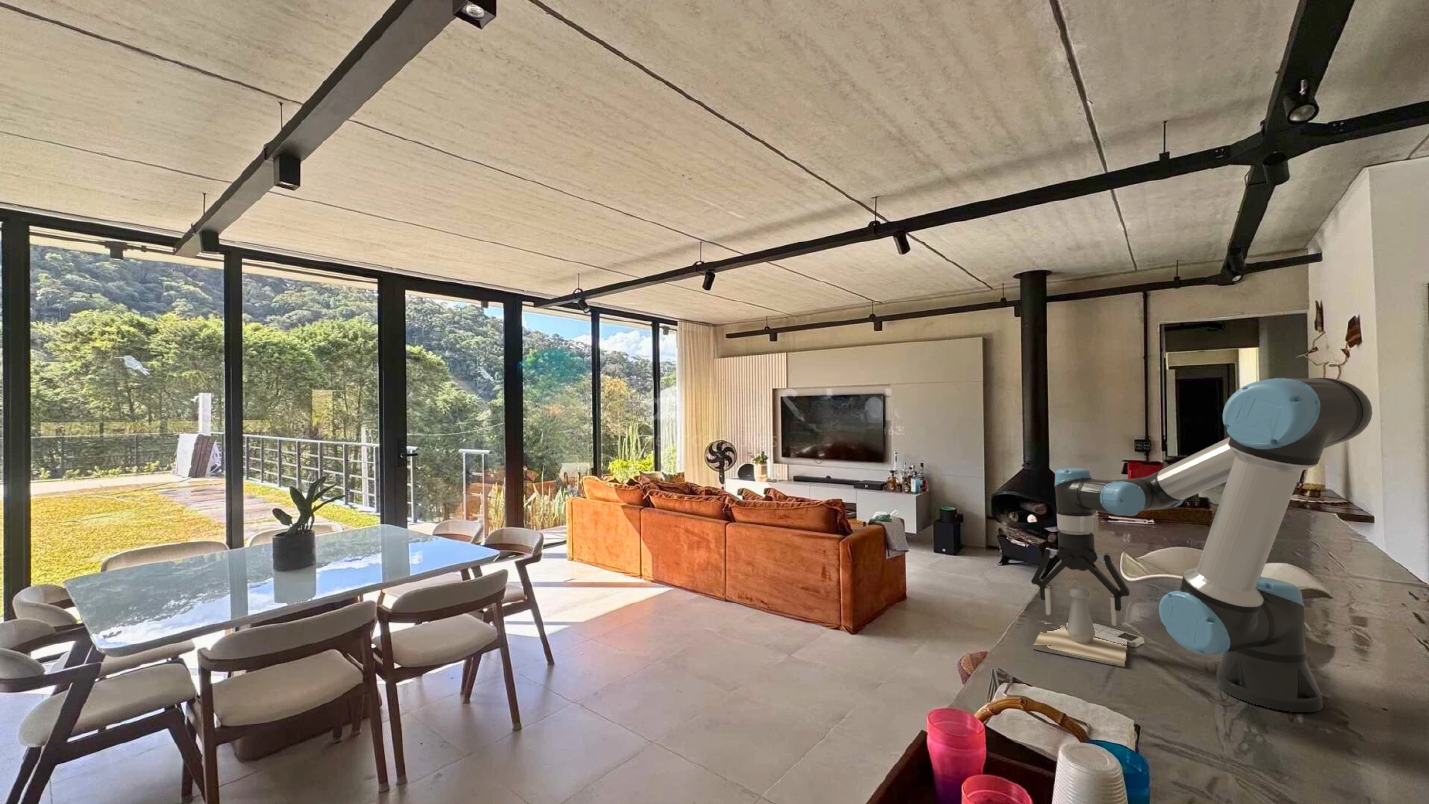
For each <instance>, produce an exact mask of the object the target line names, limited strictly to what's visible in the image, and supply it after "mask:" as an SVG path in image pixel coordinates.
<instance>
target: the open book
mask: <svg viewBox="0 0 1429 804" xmlns="http://www.w3.org/2000/svg"><path fill="white" fill-rule="evenodd" d="M1044 624H1052V623H1050V622H1044V623H1043V625H1044ZM1059 625H1060V627H1061V628H1060V629H1057V630H1054V631H1047V633H1043V632H1039V633H1040V634H1038V635H1037V637H1036V639H1035V642H1034V643H1033V645H1047V647H1048V648H1050V649H1054V650H1058V651H1062V652H1065V653H1068V654H1072V655H1077V656H1082V657H1087V658H1091V659H1096V660H1101V661H1106V662H1110V663H1115V664H1119V665H1125V661H1126V662H1127V656H1126V650H1127V651H1128V648H1127V646H1122V645H1123V644H1122V645H1121V644H1117V643H1113V642H1110V641H1106V640H1102V639H1098V638H1093V640H1092V643H1089V644H1081V643H1076V642H1075V641H1073V640H1071V638H1070V636H1069V634H1068V632H1067V630H1066V628H1065V626H1066V625H1062V624H1059ZM1049 645H1051V646H1049ZM1125 666H1126V665H1125Z"/></svg>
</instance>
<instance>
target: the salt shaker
mask: <svg viewBox="0 0 1429 804" xmlns="http://www.w3.org/2000/svg"><path fill="white" fill-rule="evenodd" d="M1068 596H1069V597H1071V601H1070V607H1069V612H1068V613H1069V614H1068V621H1067V625H1066V626H1067V632H1068V634H1069V636H1070V638H1071V640H1073V641H1075V642H1076V643H1081V644H1089V643H1092V640H1093V638H1094V636H1095V631H1096V630H1095V627H1094V623H1093V619H1092V617H1091V612H1090V609H1089V604H1088V600H1087V599H1089V598H1090V591H1089V589H1087V588H1086V587H1084V586H1081V585H1075V586H1073V585H1071V586H1070V587H1069V588H1068Z"/></svg>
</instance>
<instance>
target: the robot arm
mask: <svg viewBox="0 0 1429 804" xmlns="http://www.w3.org/2000/svg"><path fill="white" fill-rule="evenodd" d="M1222 411H1223V412H1222V422H1223V426H1225V427H1226V432H1227V434H1228V435H1229V436H1228V437H1227V438H1224V439H1223V440H1221V441H1218V442H1217V443H1214V444H1212V445H1211V446H1208V447H1205V448H1204V449H1201V450H1200V451H1197V452H1195V453H1193V454H1191V455H1189V456H1187V457H1185V458H1182V459H1181V460H1179V461H1177V462H1175V463H1172V464H1171V465H1169V466H1167V467H1164V468H1162V469H1161V470H1159V471H1157V472H1156V471H1155V472H1154V473H1152V474H1149V475H1147V476H1144V477H1136V478H1134V477H1133V478H1123V479H1097V478H1096V479H1095V478H1092V476H1091V471H1090V470H1089V469H1086V468H1078V467H1077V468H1076V467H1073V468H1072V467H1070V468H1069V467H1068V468H1067V467H1066V468H1058V469H1057V470H1056V471H1055V474H1054V491H1055V492H1054V493H1055V503H1056V523H1057V529H1058V530H1059V531H1058V532H1057V540H1058V542H1057V543H1058V549H1053V548H1050V547H1049V546H1048V547H1046V548H1045V549H1044V552H1043V558H1042V560H1041V562H1040V564H1039V566H1038V567H1037V569H1036V571H1035V573H1034V575H1033V576H1032V578H1031V584H1032V585H1036V586H1037V587H1039V596H1040V598H1039V599H1040V600H1041V601H1045V602H1044V603H1045V615H1046V616H1050V615H1051V613H1052V607H1051V605H1052V604H1051V603H1052V602H1051V589H1050V588H1051V586H1050V585H1049V583H1050V582H1051V581H1053V579H1054V578H1056V577H1057V575H1059V574H1060V573H1061V571H1063V570H1064V569H1065V568H1067V569H1069V570H1072V571H1076V570H1078V571H1080V572H1081V571H1082V572H1086V571H1089V572H1090V573H1091V574H1092V575H1093V576H1095V578H1096V579H1097V580H1099V582H1100V583H1101V584H1102V585H1103V586H1104V587H1105V588H1106V589H1107V590H1108V591H1109V592H1110V593H1111V594H1110V598H1109V599H1110V612H1111V613H1110V615H1111V626H1115V627H1116V626H1117V611H1118V612H1121V610H1122V597H1129V596H1130V593H1131V592H1130V589H1129V588H1128V586H1127V584H1126V582H1125V581H1124V579H1123V578H1122V576H1121V575H1120V573H1119V571H1118V570H1117V568H1116V567H1115V564H1114V563H1113V560H1112V555H1111V554H1110V553H1109V552H1105V553H1097V552H1096V550H1095V549H1096V548H1095V535H1094V533H1093V531H1094V517H1093V511H1094V512H1095V511H1096V512H1098V513H1099V512H1100V513H1107V514H1110V515H1111V514H1112V515H1114V516H1119V517H1120V516H1126V517H1127V516H1129V517H1133V516H1137V515H1138V513H1140V512H1143V511H1152V510H1169V509H1172V508H1176V507H1179V506H1181V505H1182V504H1183V503H1184V501H1185V500H1186V499H1188V498H1190V497H1192V496H1195V495H1198V494H1201V493H1203V492H1206V491H1207V490H1210V489H1212V488H1215V487H1217V486H1219V485H1222V484H1224V483H1225V486H1224V489H1223V492H1222V494H1221V499H1220V501H1219V504H1218V507H1217V509H1216V512H1215V515H1214V518H1213V521H1212V523H1211V526H1210V529H1209V532H1208V536H1207V539H1206V541H1205V545H1204V547H1203V550H1202V551H1201V552H1202V553H1201V555H1200V559H1199V561H1198V564H1197V566H1196V567H1194V568H1189V569H1187V570H1185V571H1184V573H1183V576H1182V578H1181V581H1180V584H1179V588H1178V590H1174V591H1170V592H1168V593H1167V594H1165V595H1163V596H1162V598H1161V599H1160V602H1159V606H1158V613H1159V618H1160V620H1161V624H1162V625H1164V627H1165V629H1166V631H1167V633H1168V634H1169V635H1170V637H1172V639H1173V640H1174V641H1175V643H1177V644H1179V645H1180V647H1182V648H1185V649H1186V650H1188V651H1190V652H1192V653H1195V654H1198V655H1203V656H1204V655H1206V656H1209V655H1215V656H1217V655H1218V656H1219V655H1222V657H1221V659H1220V662H1219V665H1218V667H1217V668H1216V669H1217V670H1216V685H1217V686H1219V687H1220V688H1221V689H1222V690H1221V689H1220V688H1219V687H1218V688H1219V689H1220V690H1221V691H1223V692H1224V691H1225V692H1224V693H1226V694H1227V693H1228V694H1227V695H1229V696H1231V695H1232V696H1231V697H1233V696H1234V697H1233V698H1235V697H1236V698H1235V699H1237V698H1238V700H1240V699H1241V700H1240V701H1242V700H1244V701H1243V702H1245V701H1247V702H1246V703H1248V702H1249V703H1248V704H1251V703H1252V704H1251V705H1255V704H1256V705H1255V706H1257V705H1262V706H1264V707H1263V708H1265V707H1268V708H1267V709H1269V708H1273V709H1277V710H1276V711H1278V710H1283V711H1282V712H1284V711H1289V712H1288V713H1292V712H1309V713H1308V714H1311V713H1310V712H1313V713H1317V712H1319V711H1321V710H1322V709H1323V708H1324V707H1323V706H1324V704H1323V694H1322V692H1321V690H1320V688H1319V685H1318V684H1317V682H1316V679H1315V677H1314V675H1313V673H1312V670H1311V669H1310V666H1309V664H1308V662H1307V644H1306V642H1307V641H1306V628H1305V627H1306V625H1305V623H1306V622H1305V610H1304V609H1305V603H1304V601H1303V600H1304V599H1303V595H1302V594H1303V593H1302V591H1301V589H1300V588H1299V587H1298V586H1297V585H1295V584H1293V583H1291V582H1287V581H1283V580H1278V579H1275V578H1270V577H1265V576H1262V573H1263V571H1264V568H1265V566H1266V563H1267V560H1268V558H1269V555H1270V552H1271V550H1272V548H1273V545H1274V542H1275V540H1276V538H1277V534H1278V532H1279V530H1280V527H1281V524H1282V522H1283V520H1284V517H1285V514H1286V512H1287V510H1288V508H1289V507H1288V506H1289V503H1290V501H1291V499H1292V495H1293V493H1294V491H1295V488H1296V486H1297V483H1298V481H1299V478H1300V475H1301V473H1302V472H1303V471H1305V470H1308V469H1311V468H1314V467H1317V466H1318V464H1319V462H1320V459H1321V457H1322V454H1323V452H1324V450H1325V449H1327V448H1330V447H1333V446H1334V445H1337V444H1341V443H1344V442H1346V441H1349V440H1351V439H1354V438H1355V437H1357V436H1359V435H1360V434H1361V433H1362V432H1363V431H1364V430H1365V429H1366V428H1367V427H1368V426H1369V424H1370V423H1371V420H1372V416H1373V407H1372V403H1371V401H1370V399H1369V397H1368V396H1367V395H1366V393H1364V391H1363V390H1362V389H1360V388H1359V387H1357V385H1356V386H1355V384H1351V383H1350V382H1348V381H1344V380H1341V379H1338V378H1331V377H1314V378H1313V377H1312V378H1285V377H1275V378H1269V379H1265V380H1264V379H1263V380H1259V381H1258V380H1257V381H1254V382H1251V383H1249V384H1246V385H1244V386H1242V387H1240V388H1239V389H1237V390H1236V391H1234V393H1233V394H1231V396H1230V397H1229V398H1228V399H1227V401H1226V402H1225V404H1224V408H1223V410H1222ZM1055 556H1057V558H1058V559H1059V560H1060V562H1059V564H1058V565H1057V566H1056V567H1054V568H1053V569H1052V570H1051V571H1050V573H1048V574H1047V575H1046V576H1044V578H1043V579H1040V577H1041V576H1042V574H1043V572H1044V570H1045V569H1046V567H1047V565H1048V563H1049V562H1050V559H1053V558H1054V557H1055ZM1097 560H1100V562H1101V563H1102V564H1105V567H1106V569H1107V570H1108V572H1109V573H1110V575H1111V576H1112V577H1111V578H1113V581H1114V582H1115V583H1116V585H1117V586H1118V588H1119V589H1118V588H1117V587H1116V585H1114V584H1113V582H1112V581H1111V580H1110V579H1109V578H1108V577H1107V576H1106V575H1105V574H1104V573H1103V571H1101V570H1100V569H1099V567H1098V566H1097V565H1096V564H1095V563H1096V562H1097ZM1273 709H1272V710H1273ZM1316 711H1317V712H1316Z"/></svg>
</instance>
